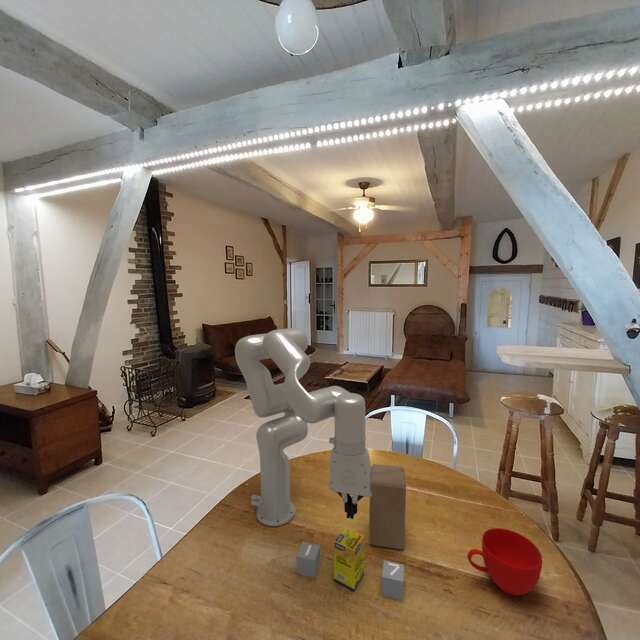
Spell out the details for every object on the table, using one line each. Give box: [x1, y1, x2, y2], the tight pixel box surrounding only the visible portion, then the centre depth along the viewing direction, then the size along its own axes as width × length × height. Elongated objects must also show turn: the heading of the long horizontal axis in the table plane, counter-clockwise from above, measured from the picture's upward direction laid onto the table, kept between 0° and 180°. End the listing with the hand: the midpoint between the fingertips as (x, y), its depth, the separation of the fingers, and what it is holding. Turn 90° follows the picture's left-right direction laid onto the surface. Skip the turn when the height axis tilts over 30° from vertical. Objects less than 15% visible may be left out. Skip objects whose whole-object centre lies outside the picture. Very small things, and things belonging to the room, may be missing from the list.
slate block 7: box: [381, 559, 405, 601], centre depth 81 cm, size 5×5×5 cm
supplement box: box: [333, 527, 365, 592], centre depth 84 cm, size 6×6×11 cm
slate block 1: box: [295, 541, 321, 579], centre depth 87 cm, size 5×5×5 cm
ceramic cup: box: [467, 527, 543, 597], centre depth 82 cm, size 13×17×10 cm
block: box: [368, 463, 407, 550], centre depth 97 cm, size 10×10×20 cm
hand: (351, 514), depth 82 cm, fingers closed
